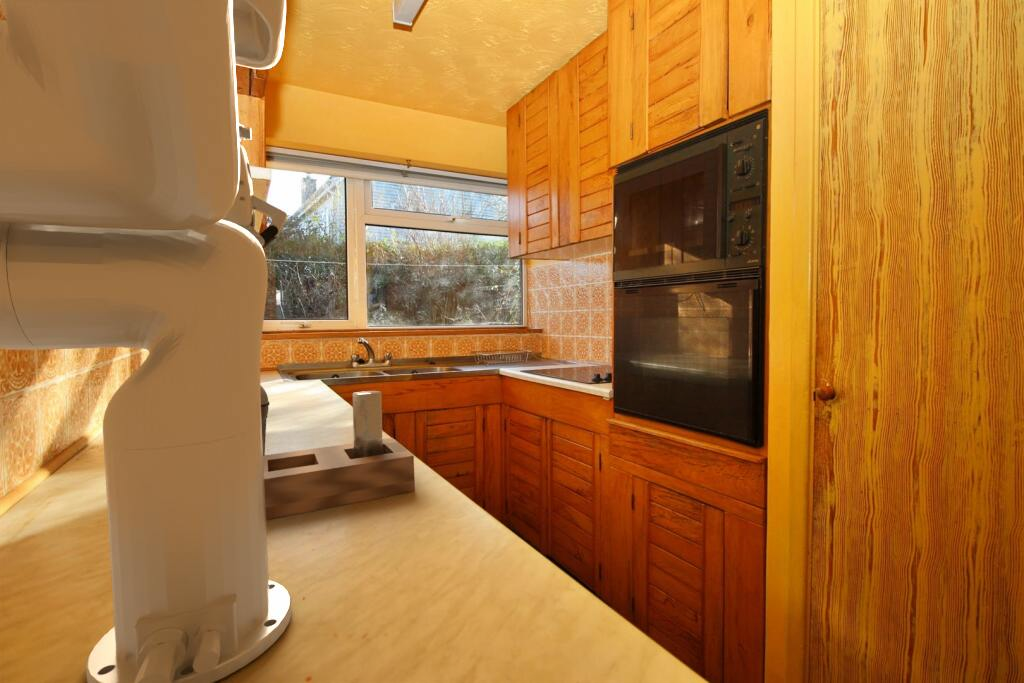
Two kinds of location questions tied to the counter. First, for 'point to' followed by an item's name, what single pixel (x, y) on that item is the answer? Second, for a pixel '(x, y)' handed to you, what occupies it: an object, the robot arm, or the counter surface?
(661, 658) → the counter surface
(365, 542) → the counter surface
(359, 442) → the steel pin
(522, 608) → the counter surface
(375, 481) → the walnut block
